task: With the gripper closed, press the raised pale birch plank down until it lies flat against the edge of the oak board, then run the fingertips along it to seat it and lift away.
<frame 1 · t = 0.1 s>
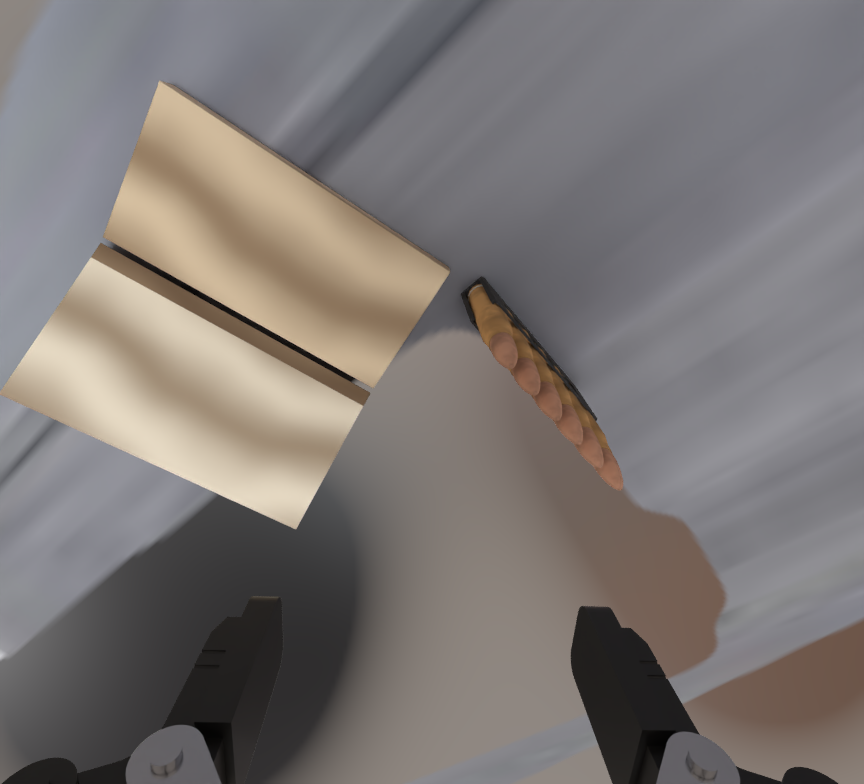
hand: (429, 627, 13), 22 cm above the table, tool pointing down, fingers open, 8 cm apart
oak board: (286, 250, 31), on the table
ammunition clip: (520, 342, 34), on the table
birch plank: (205, 393, 31), point 3 cm above the table, hinge at 30.0°
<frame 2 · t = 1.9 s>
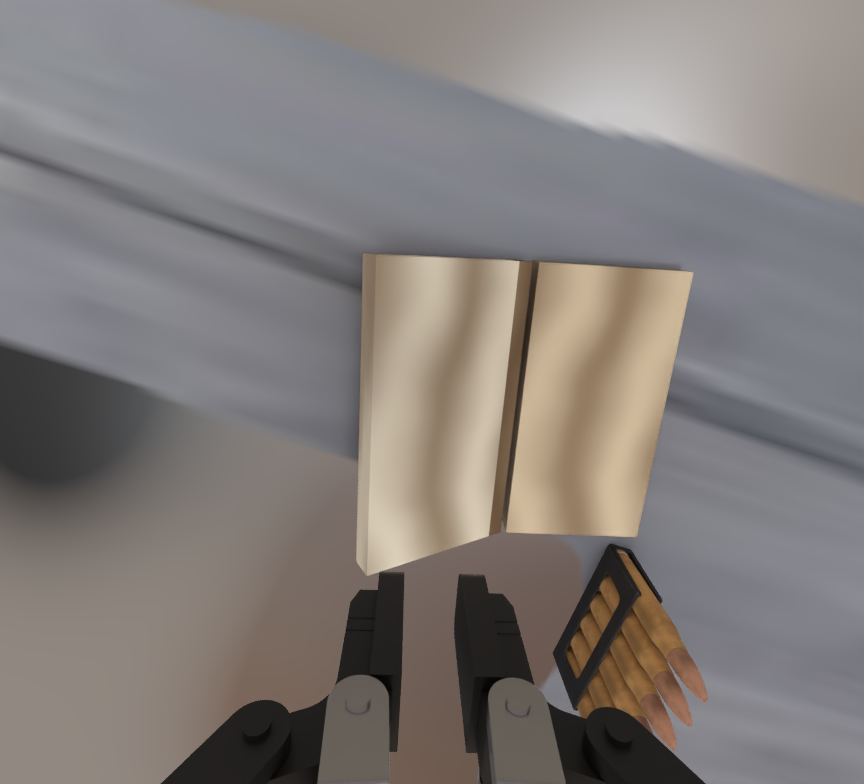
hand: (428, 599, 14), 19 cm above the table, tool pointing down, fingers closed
oak board: (584, 404, 33), on the table
ammunition clip: (589, 601, 38), on the table
birch plank: (442, 414, 29), point 3 cm above the table, hinge at 30.0°
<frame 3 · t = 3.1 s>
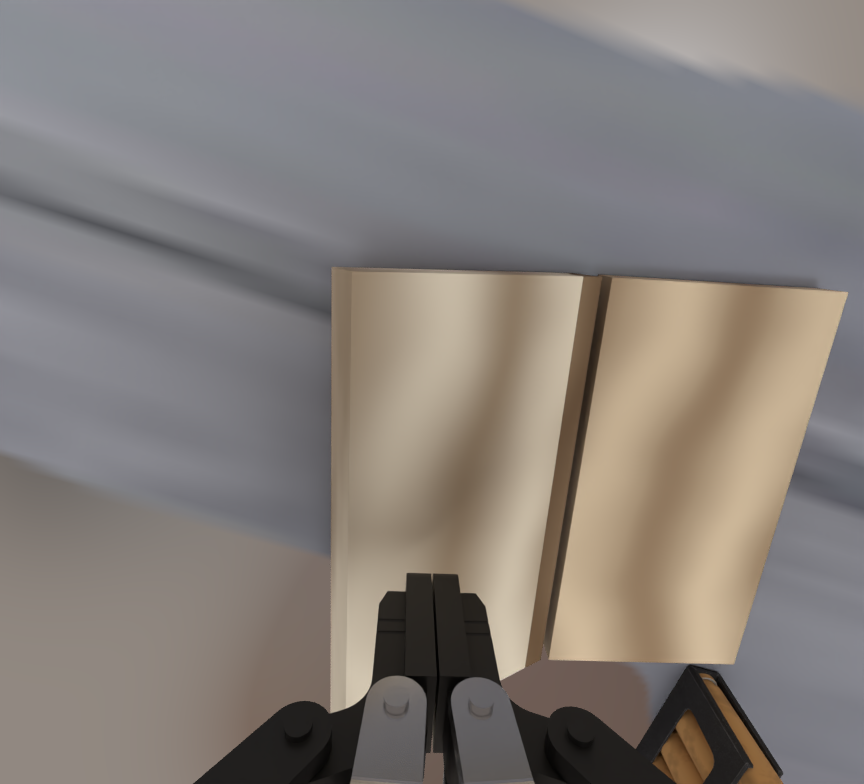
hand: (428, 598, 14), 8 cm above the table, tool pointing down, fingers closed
oak board: (664, 480, 23), on the table
ammunition clip: (657, 736, 28), on the table
birch plank: (461, 510, 19), point 3 cm above the table, hinge at 30.0°
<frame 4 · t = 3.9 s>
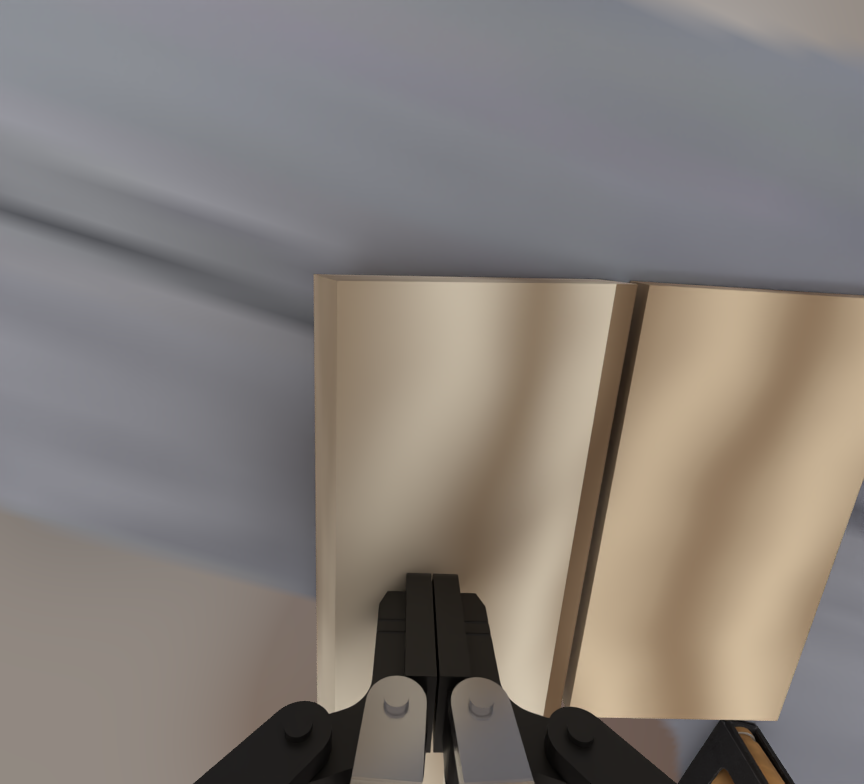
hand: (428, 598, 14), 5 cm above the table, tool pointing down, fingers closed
oak board: (701, 515, 20), on the table
birch plank: (470, 558, 16), point 3 cm above the table, hinge at 29.9°, touching gripper
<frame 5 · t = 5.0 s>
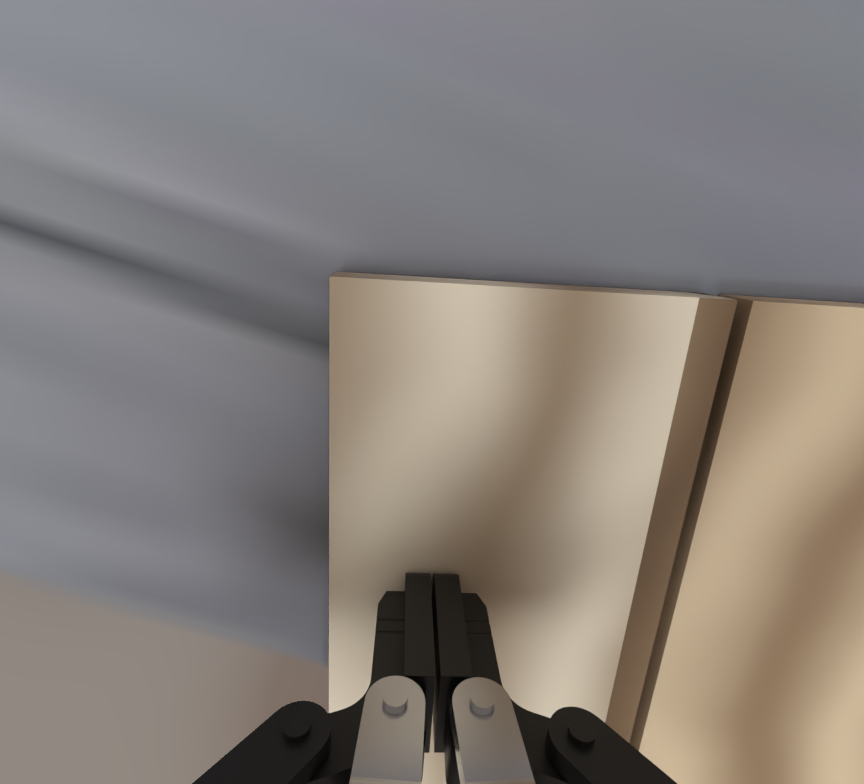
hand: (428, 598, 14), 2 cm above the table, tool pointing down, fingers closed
oak board: (791, 575, 17), on the table
birch plank: (496, 582, 15), point 1 cm above the table, hinge at 4.0°, touching gripper
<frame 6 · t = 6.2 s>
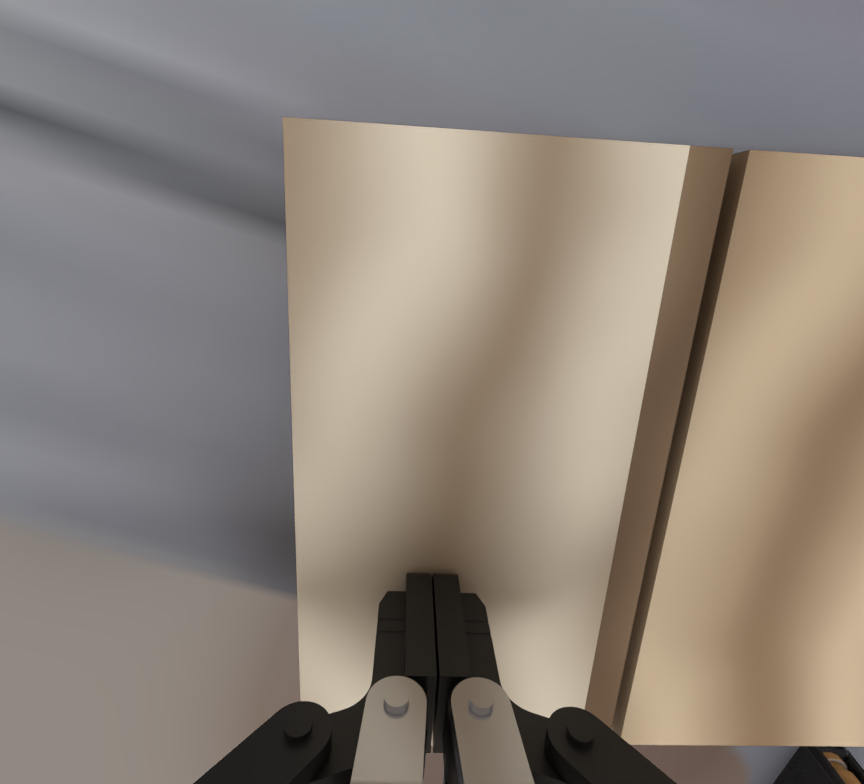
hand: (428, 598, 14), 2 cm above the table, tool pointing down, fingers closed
oak board: (792, 483, 15), on the table
birch plank: (476, 485, 14), point 1 cm above the table, hinge at 0.9°, touching gripper
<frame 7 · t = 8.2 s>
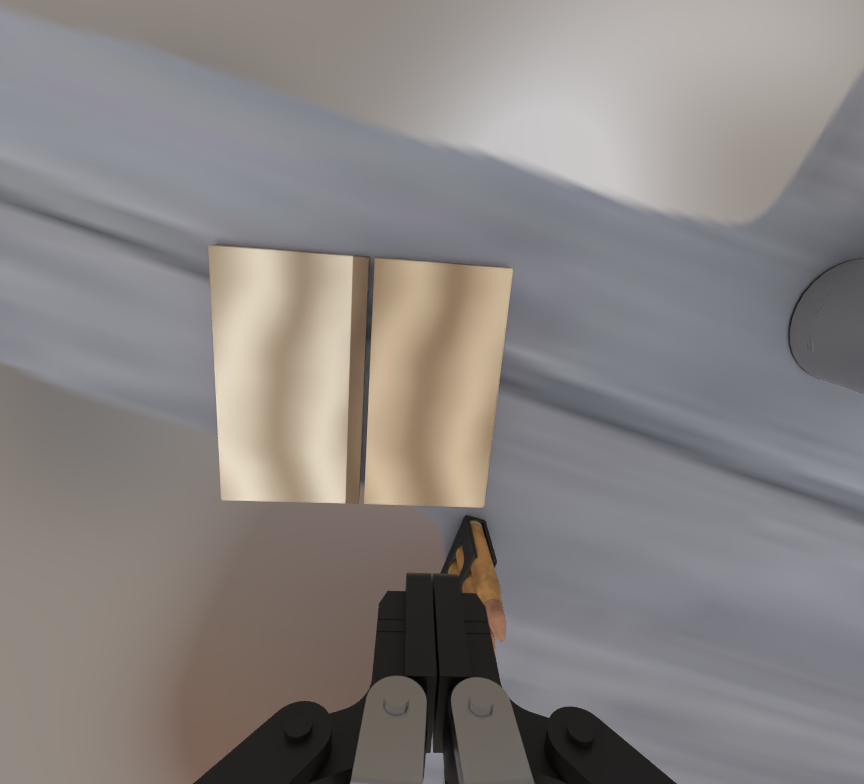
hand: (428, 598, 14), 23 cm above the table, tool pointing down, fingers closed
oak board: (432, 387, 37), on the table
ammunition clip: (452, 569, 42), on the table
birch plank: (292, 383, 35), point 1 cm above the table, hinge at 0.8°
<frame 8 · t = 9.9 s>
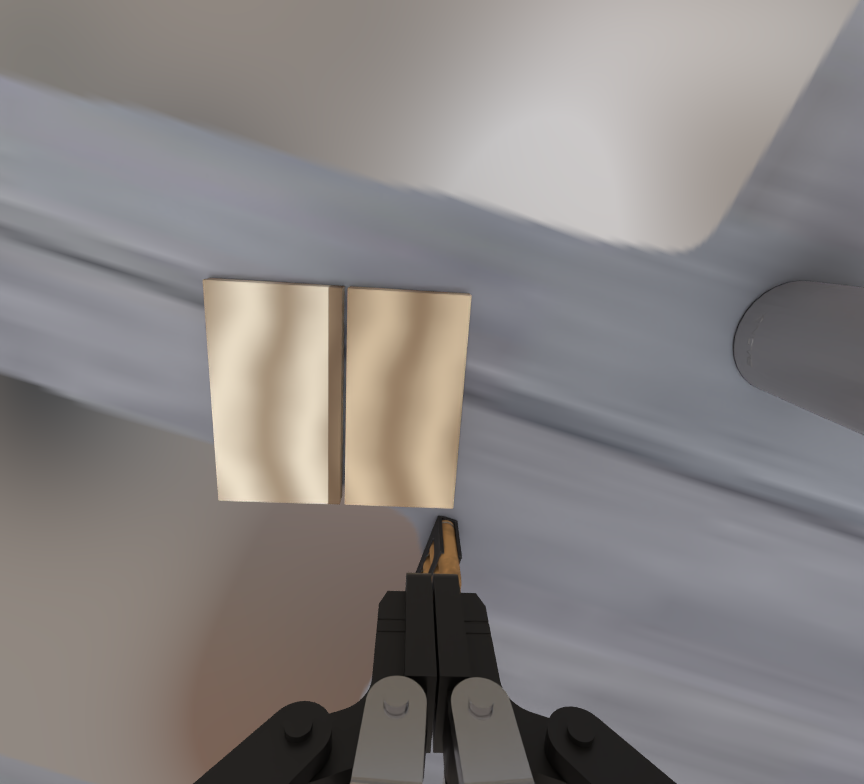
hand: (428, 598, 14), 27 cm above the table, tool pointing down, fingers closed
oak board: (404, 400, 41), on the table
ammunition clip: (428, 564, 46), on the table
birch plank: (278, 397, 40), point 1 cm above the table, hinge at 0.8°
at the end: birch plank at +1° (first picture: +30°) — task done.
